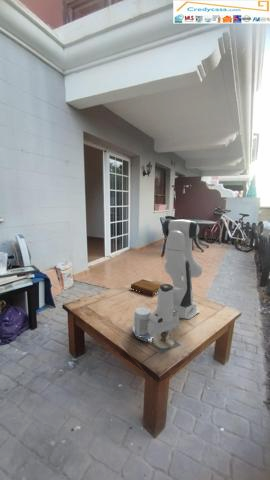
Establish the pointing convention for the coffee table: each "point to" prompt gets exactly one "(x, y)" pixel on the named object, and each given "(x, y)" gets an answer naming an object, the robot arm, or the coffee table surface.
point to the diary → (146, 287)
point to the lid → (163, 341)
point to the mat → (165, 349)
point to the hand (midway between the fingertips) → (163, 337)
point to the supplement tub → (141, 321)
